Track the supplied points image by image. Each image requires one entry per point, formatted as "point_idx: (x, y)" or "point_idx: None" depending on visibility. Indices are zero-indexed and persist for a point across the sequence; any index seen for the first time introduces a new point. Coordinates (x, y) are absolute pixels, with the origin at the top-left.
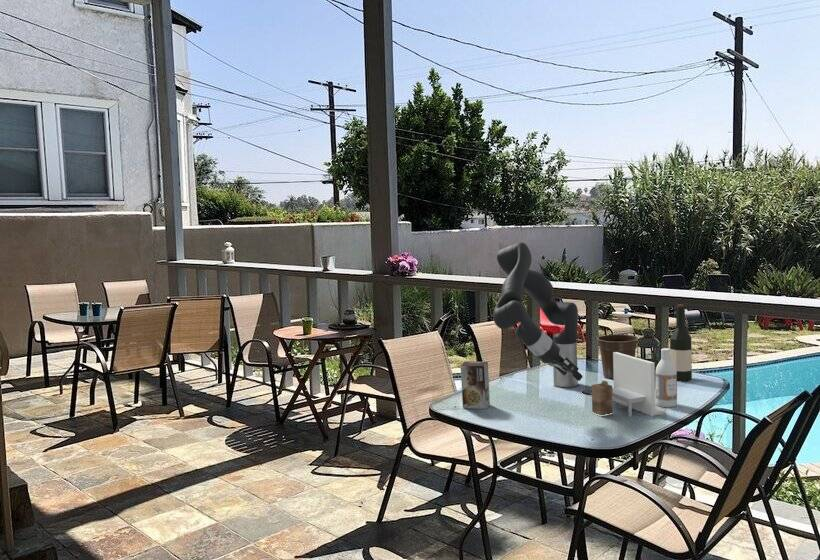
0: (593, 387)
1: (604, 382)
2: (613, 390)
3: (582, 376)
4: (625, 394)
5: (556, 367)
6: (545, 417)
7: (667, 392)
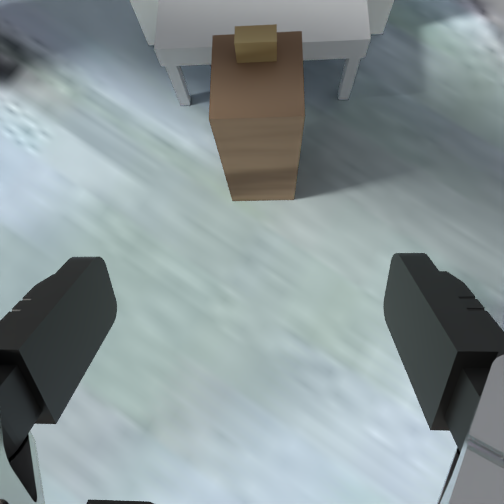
0: (231, 127)
1: (267, 45)
2: (196, 21)
3: (422, 256)
4: (287, 12)
5: (36, 464)
6: (167, 436)
7: None
